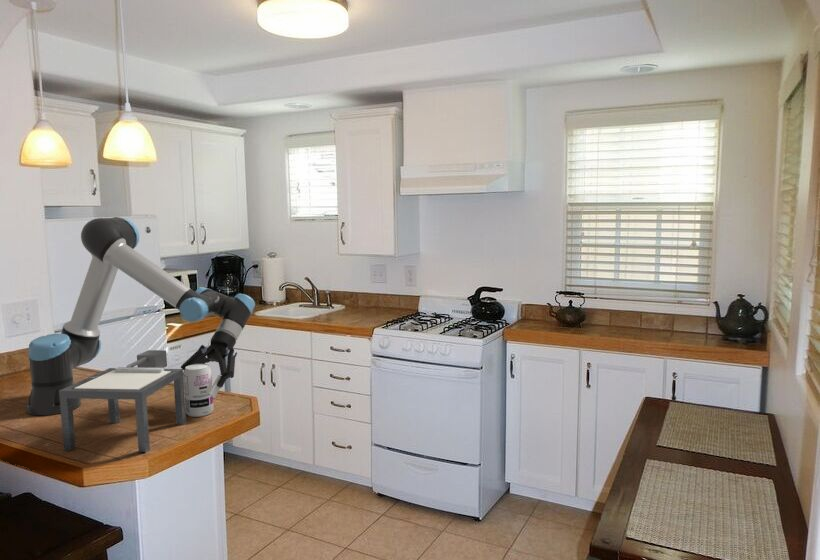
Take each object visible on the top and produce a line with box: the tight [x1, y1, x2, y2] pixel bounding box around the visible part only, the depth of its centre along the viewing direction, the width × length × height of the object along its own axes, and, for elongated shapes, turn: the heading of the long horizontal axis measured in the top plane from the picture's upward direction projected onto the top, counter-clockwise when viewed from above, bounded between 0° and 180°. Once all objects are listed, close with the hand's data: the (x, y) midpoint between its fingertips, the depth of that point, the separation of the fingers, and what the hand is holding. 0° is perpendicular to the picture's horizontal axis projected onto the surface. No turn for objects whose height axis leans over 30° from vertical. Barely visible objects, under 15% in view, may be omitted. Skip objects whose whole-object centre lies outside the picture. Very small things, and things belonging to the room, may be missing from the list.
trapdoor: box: [74, 349, 171, 390], centre depth 180 cm, size 18×35×5 cm, turn 174°
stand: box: [59, 367, 187, 454], centre depth 173 cm, size 23×23×16 cm
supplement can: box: [183, 363, 214, 418], centre depth 192 cm, size 8×8×15 cm
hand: (194, 393), depth 190 cm, fingers open, 13 cm apart
